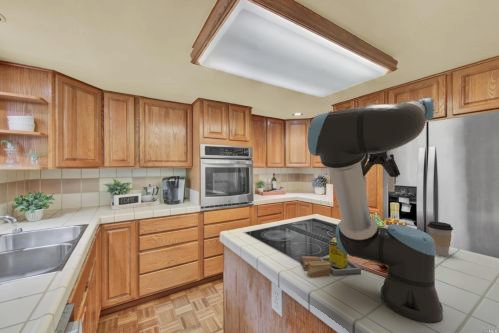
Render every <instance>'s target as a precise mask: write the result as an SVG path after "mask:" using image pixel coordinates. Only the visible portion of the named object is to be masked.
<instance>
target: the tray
mask: <svg viewBox="0 0 499 333" xmlns="http://www.w3.org/2000/svg"><path fill="white" fill-rule="evenodd" d="M318 258H319V259H320V261H327V262H329V256H325V257H318ZM361 274H362V268H361V267H360V266H358V265H357V264H355V263H354V262H352V261H351V260H349V259H348V258H347V267H346V268H345V269H335V268H332V267H331V266H330V275H331V276H333V277H340V276H341V277H342V276H352V275H353V276H354V275H361Z"/></svg>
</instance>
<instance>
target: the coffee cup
mask: <svg viewBox="0 0 499 333" xmlns="http://www.w3.org/2000/svg"><path fill="white" fill-rule="evenodd" d="M427 227H428V228H429V231H428V232H429V235H430V236H431V237H432V238H433V239H434V242H435V251H436V255H435V256H438V257H439V256H440V257H449V253H450V247H451V241H452V231H453V230H454V227H453V226H452V225H451V223H446V222H443V221H442V222H441V221H429V223H428V224H427Z"/></svg>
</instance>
